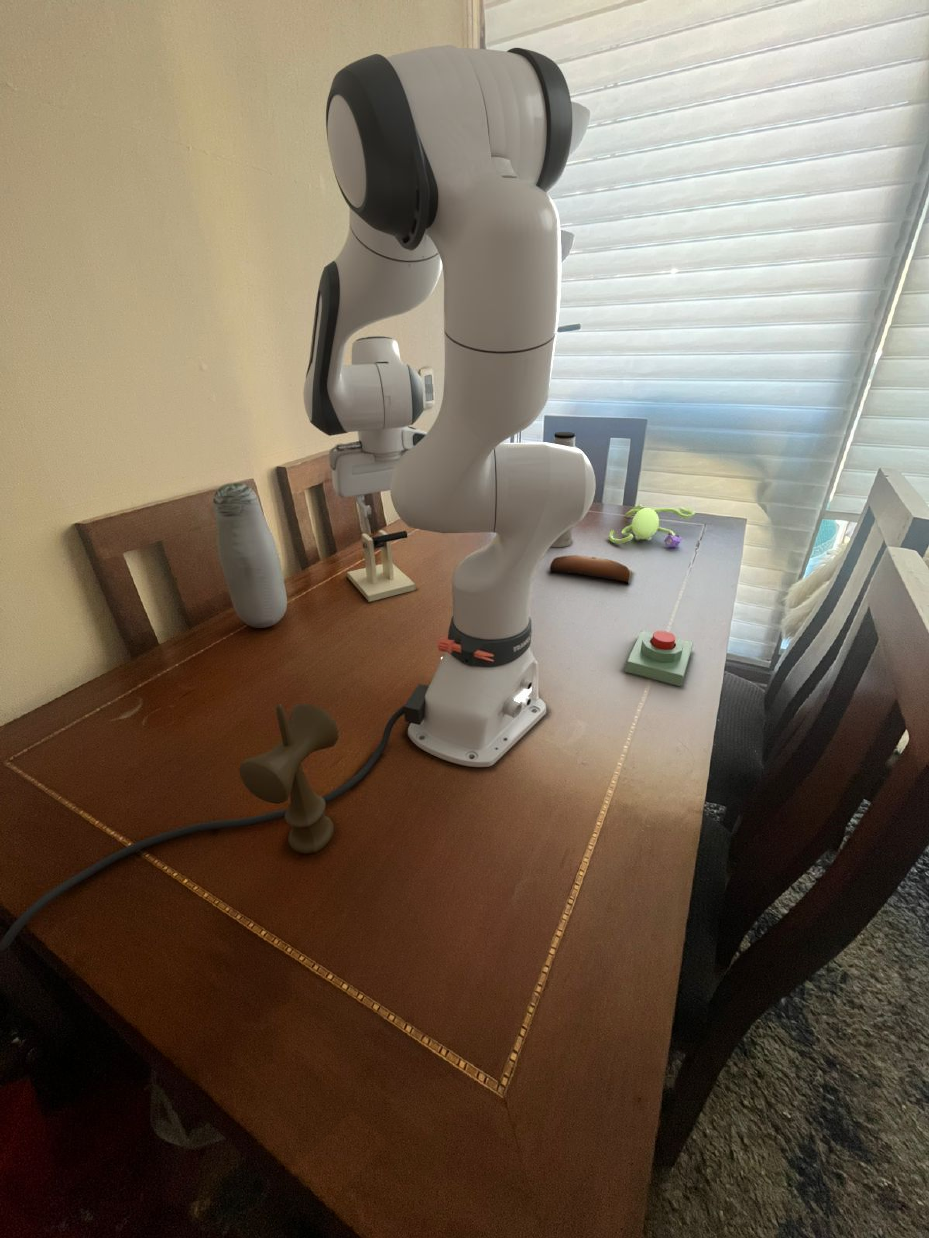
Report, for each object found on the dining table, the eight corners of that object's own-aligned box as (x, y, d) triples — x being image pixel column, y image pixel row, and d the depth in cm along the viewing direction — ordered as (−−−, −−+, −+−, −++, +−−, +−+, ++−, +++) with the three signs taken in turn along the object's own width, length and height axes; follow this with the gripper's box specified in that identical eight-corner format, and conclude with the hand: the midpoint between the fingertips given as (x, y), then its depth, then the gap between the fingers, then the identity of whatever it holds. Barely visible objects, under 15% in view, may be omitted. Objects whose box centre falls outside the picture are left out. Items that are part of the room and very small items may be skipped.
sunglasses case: (632, 569, 121) (634, 551, 116) (627, 593, 118) (629, 577, 113) (557, 558, 127) (556, 541, 122) (550, 581, 124) (548, 565, 119)
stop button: (671, 652, 86) (673, 644, 85) (649, 647, 87) (651, 638, 86) (675, 642, 88) (677, 633, 88) (653, 637, 90) (655, 628, 89)
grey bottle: (236, 618, 105) (197, 481, 91) (287, 606, 109) (258, 474, 95) (242, 641, 97) (201, 496, 83) (296, 627, 101) (267, 487, 87)
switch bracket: (415, 589, 115) (412, 540, 109) (369, 602, 110) (362, 550, 104) (391, 567, 125) (387, 521, 120) (348, 577, 121) (341, 530, 115)
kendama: (356, 812, 63) (332, 682, 53) (309, 881, 56) (271, 745, 45) (314, 798, 65) (284, 670, 55) (264, 864, 57) (218, 729, 47)
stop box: (680, 686, 84) (685, 666, 82) (625, 671, 87) (628, 652, 85) (690, 653, 92) (695, 634, 90) (639, 640, 96) (642, 622, 94)
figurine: (694, 523, 149) (698, 505, 146) (677, 556, 129) (681, 535, 126) (629, 514, 156) (632, 496, 154) (604, 543, 137) (606, 523, 134)
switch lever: (408, 539, 104) (405, 527, 103) (380, 545, 101) (377, 533, 101) (388, 546, 116) (386, 535, 115) (363, 551, 113) (360, 540, 113)
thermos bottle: (551, 549, 134) (560, 437, 120) (535, 539, 140) (541, 431, 126) (577, 544, 137) (588, 434, 122) (560, 534, 143) (568, 428, 129)
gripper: (332, 448, 87) (343, 526, 94) (440, 435, 95) (443, 507, 102) (321, 442, 91) (333, 516, 98) (425, 429, 100) (429, 498, 107)
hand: (389, 511), depth 100 cm, fingers open, 8 cm apart
